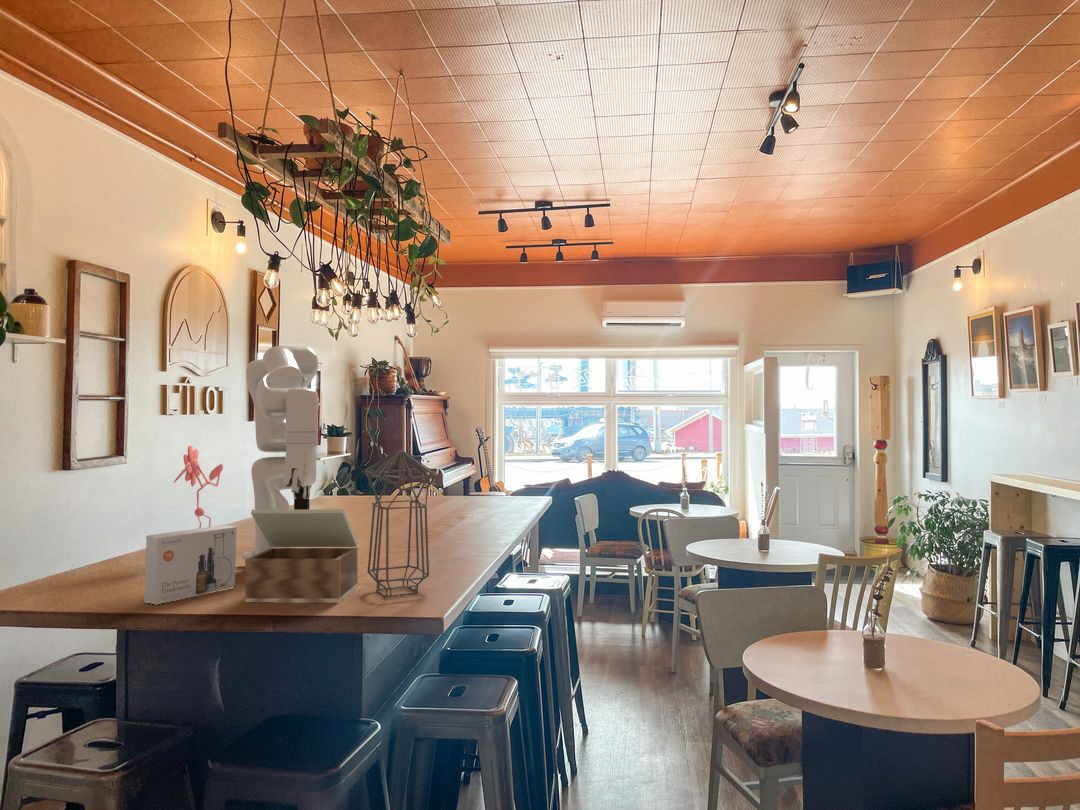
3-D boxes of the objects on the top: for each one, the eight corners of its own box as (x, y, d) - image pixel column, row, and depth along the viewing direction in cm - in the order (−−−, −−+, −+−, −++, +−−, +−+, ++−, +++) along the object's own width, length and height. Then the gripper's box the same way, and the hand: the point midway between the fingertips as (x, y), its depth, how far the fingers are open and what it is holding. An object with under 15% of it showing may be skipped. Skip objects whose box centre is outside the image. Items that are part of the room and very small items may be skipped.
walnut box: (245, 602, 173) (245, 559, 173) (271, 586, 189) (271, 547, 189) (339, 602, 172) (339, 559, 172) (357, 587, 188) (357, 547, 188)
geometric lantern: (418, 582, 193) (420, 448, 193) (438, 597, 179) (441, 452, 179) (357, 588, 186) (360, 449, 186) (373, 604, 172) (376, 453, 172)
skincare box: (156, 606, 170) (156, 537, 170) (143, 603, 173) (143, 535, 173) (237, 588, 188) (237, 525, 188) (223, 586, 190) (224, 524, 191)
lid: (250, 513, 176) (251, 509, 177) (270, 547, 188) (271, 543, 189) (342, 513, 176) (343, 509, 176) (356, 547, 188) (357, 543, 188)
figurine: (230, 552, 237) (228, 443, 238) (201, 569, 212) (198, 446, 212) (180, 554, 236) (178, 444, 236) (145, 571, 210) (142, 448, 210)
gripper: (297, 438, 187) (297, 511, 187) (274, 440, 172) (274, 519, 172) (326, 438, 187) (326, 511, 187) (307, 440, 172) (306, 519, 172)
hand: (301, 515), depth 179 cm, fingers closed
